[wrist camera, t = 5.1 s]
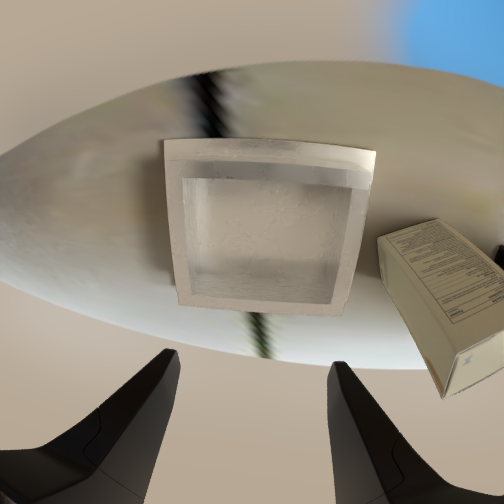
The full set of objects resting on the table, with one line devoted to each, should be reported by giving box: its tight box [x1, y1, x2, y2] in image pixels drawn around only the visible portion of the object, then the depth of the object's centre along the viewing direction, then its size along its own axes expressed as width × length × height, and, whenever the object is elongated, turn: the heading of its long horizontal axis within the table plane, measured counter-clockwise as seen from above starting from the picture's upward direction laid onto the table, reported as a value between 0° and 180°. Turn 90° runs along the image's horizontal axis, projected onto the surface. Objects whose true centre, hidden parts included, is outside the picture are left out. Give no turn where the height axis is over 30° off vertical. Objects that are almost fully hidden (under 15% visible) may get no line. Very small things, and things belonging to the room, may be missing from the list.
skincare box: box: [377, 219, 504, 400], centre depth 14 cm, size 6×4×12 cm
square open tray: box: [164, 138, 376, 316], centre depth 18 cm, size 14×12×4 cm
